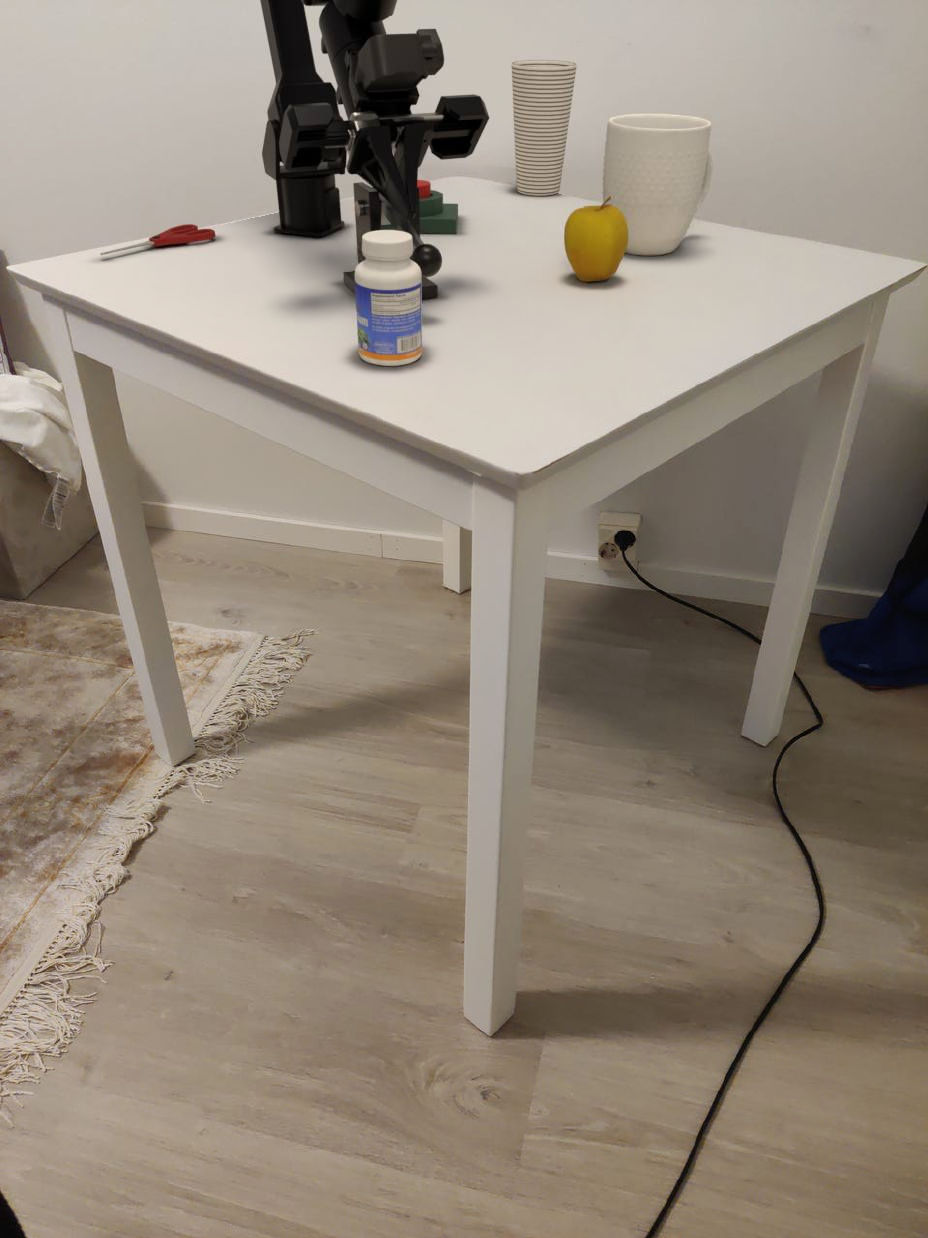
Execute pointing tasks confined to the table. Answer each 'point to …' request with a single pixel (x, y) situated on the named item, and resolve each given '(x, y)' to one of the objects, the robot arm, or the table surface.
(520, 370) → the table surface
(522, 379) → the table surface
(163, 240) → the scissors
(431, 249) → the lever
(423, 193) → the button
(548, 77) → the cup
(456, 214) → the button box
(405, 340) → the pill bottle
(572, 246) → the apple
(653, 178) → the mug
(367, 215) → the bracket
